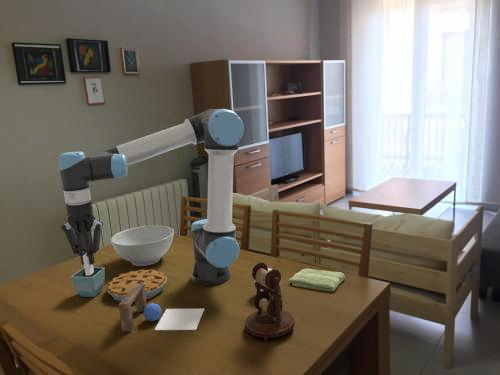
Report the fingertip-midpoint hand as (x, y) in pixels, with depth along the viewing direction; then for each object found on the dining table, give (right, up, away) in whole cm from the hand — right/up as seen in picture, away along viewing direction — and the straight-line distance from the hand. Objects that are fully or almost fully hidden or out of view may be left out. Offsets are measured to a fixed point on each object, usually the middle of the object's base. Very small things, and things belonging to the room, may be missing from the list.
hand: (89, 273), depth 140 cm
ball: (+20, -12, 0) cm, 24 cm away
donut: (+57, -10, +13) cm, 60 cm away
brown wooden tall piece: (+57, -15, -9) cm, 60 cm away
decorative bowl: (+5, -5, +53) cm, 54 cm away
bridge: (+14, -15, +2) cm, 21 cm away
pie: (+9, -11, +24) cm, 28 cm away
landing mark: (+29, -15, 0) cm, 32 cm away
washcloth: (+76, -8, +20) cm, 79 cm away
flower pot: (-8, -13, +23) cm, 28 cm away
